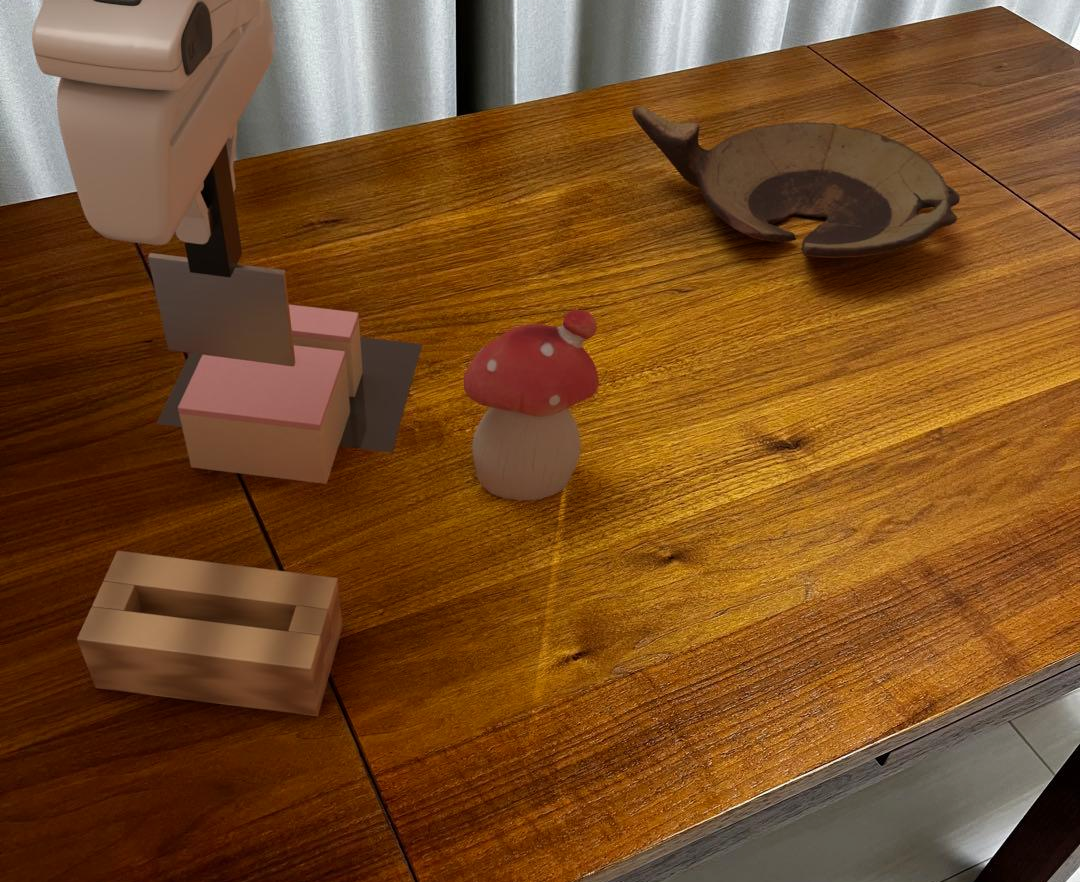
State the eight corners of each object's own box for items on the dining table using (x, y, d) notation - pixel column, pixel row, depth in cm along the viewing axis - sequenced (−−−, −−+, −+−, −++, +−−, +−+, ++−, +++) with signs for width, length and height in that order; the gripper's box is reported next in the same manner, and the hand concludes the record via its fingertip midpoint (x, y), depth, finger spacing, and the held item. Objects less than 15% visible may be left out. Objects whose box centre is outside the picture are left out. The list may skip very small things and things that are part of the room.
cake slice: (228, 382, 93) (217, 321, 89) (239, 358, 95) (229, 297, 91) (354, 397, 93) (350, 337, 88) (362, 372, 95) (358, 312, 90)
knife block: (98, 696, 75) (75, 639, 70) (135, 609, 79) (117, 550, 75) (319, 724, 74) (310, 669, 70) (343, 635, 79) (337, 577, 74)
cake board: (134, 479, 87) (132, 471, 86) (207, 325, 99) (206, 318, 98) (378, 509, 86) (378, 501, 86) (422, 351, 98) (422, 343, 98)
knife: (162, 360, 74) (113, 139, 62) (175, 336, 75) (129, 116, 64) (290, 377, 73) (263, 158, 62) (299, 352, 75) (275, 135, 64)
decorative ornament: (587, 453, 91) (607, 294, 80) (585, 516, 87) (606, 357, 76) (466, 444, 91) (469, 283, 80) (458, 506, 87) (460, 346, 76)
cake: (191, 468, 87) (177, 407, 82) (222, 396, 92) (211, 335, 88) (326, 485, 87) (320, 424, 82) (350, 411, 92) (345, 350, 87)
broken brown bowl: (869, 332, 103) (894, 258, 98) (595, 196, 115) (603, 123, 109) (980, 225, 116) (1008, 154, 110) (722, 112, 127) (735, 42, 121)
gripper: (172, -125, 63) (209, 116, 74) (12, 57, 50) (85, 320, 60) (289, -111, 63) (309, 128, 74) (160, 76, 50) (208, 337, 60)
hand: (207, 217), depth 67 cm, fingers closed on knife, 2 cm apart
